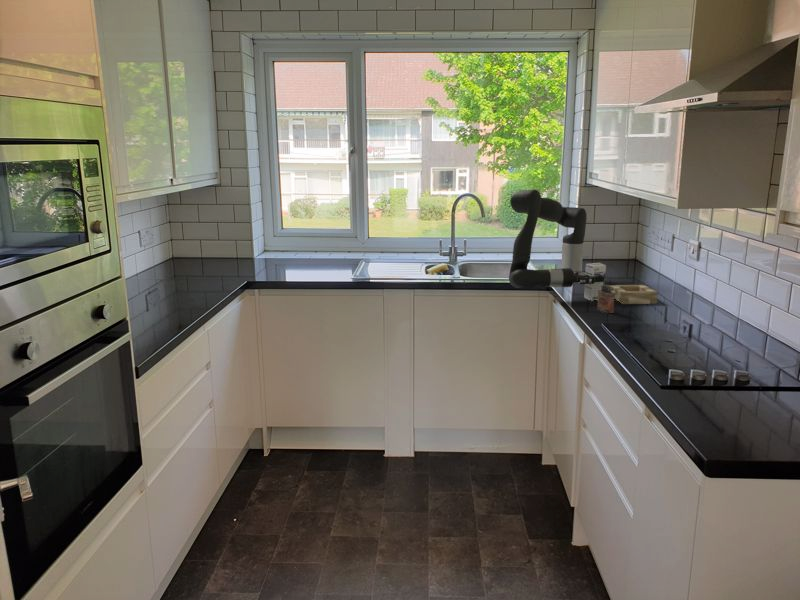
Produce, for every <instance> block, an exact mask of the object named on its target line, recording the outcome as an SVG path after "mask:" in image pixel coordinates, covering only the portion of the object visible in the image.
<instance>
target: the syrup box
mask: <svg viewBox="0 0 800 600" xmlns="http://www.w3.org/2000/svg"><path fill="white" fill-rule="evenodd" d="M606 268H607V265H606V264H605V263H602V262H596V263H595V262H593V263H585V272H586V273H585V274H588V275H589V276H604V282H595V284H584V292H583V293H584V295H583V297H584V299H586V300H588V301H590V300H591V301H590V302H594V300H596V301H598V290H602V289H601V285H606V274H607V273H606V272H607V269H606ZM589 281H592V279H589Z"/></svg>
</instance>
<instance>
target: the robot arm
mask: <svg viewBox="0 0 800 600" xmlns="http://www.w3.org/2000/svg"><path fill="white" fill-rule="evenodd" d="M509 201H510V202H509V203H510V207H511V209H512V210H513V211H514V212H515V213H518V214H524V215H525V214H526V215H527V216H526V220H525V223H523V224H524V225H523V226H522V228H521V230H520V231H519V232H518V234H517V236H516V238H515V240H514V243H513V248H512V260H511V265H510V269H509V274H508V275H509V276H508V281H509V284H510V286H512V287H513V288H517V289H519V288H525V287H537V288H572V287H573V285H574V283H576V284H579V285H585V284H595V282H604V276H589V275H588V274H585V273H586V270H585V271H583V257H584V256H583V255H584V240H585V235H586V225H587V218H588V217H587V211H586V209H585V208H583V207H573V206H563V205H562V204H561V202H559V201H558V200H555V199H553V198H549V197H542V196H541V192H540V191H539V190H537V189H520V190H517V191H515V192H513V193H512V194H511V196H510V198H509ZM538 219H542V220H544V221H547V222H551V223H557V224H559V225H560V226H562V227H564V228H572V229H573V232H572V233H570V234H566V235H563V236H562V247H561V248H562V249H561V250H562V251H561V266H560V268H551V269H548V268H547V269H528V265H529V264H530V261H531V255H532V254H531V252H532V246H533V244H532V243H533V238H534V233H535V230H536V227H537V222H538ZM589 279H592V281H589Z"/></svg>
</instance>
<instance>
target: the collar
mask: <svg viewBox="0 0 800 600" xmlns="http://www.w3.org/2000/svg"><path fill="white" fill-rule="evenodd" d="M609 286H611V287H613V288H614V291H611V292H613V293H615V296H614V299H616V300H617V301H619V302H620V303H621V304H620V303H619V302H618V303H619V304H620V305H643V304H644V305H647V304H648V305H652V304H653V305H654V304H658V293H659V292H658V291H656V290H654V289H653V288H650V287H649V286H647V285H644V284H613V285H612V284H609ZM616 300H615V301H616ZM617 301H616V302H617Z"/></svg>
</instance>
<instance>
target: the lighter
mask: <svg viewBox="0 0 800 600" xmlns="http://www.w3.org/2000/svg"><path fill="white" fill-rule="evenodd" d="M601 289H602V290H598V300H597V307H596V310H597V309H598V310H600V311H599V312H601V311H603V312H602V313H604V312H606V313H605V314H607V313H615V311H614V307H615V300H614V296H615V293H613V292H611V291H614V288H613V287H611V286H610V284H605V285H601ZM598 310H597V311H598Z"/></svg>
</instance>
